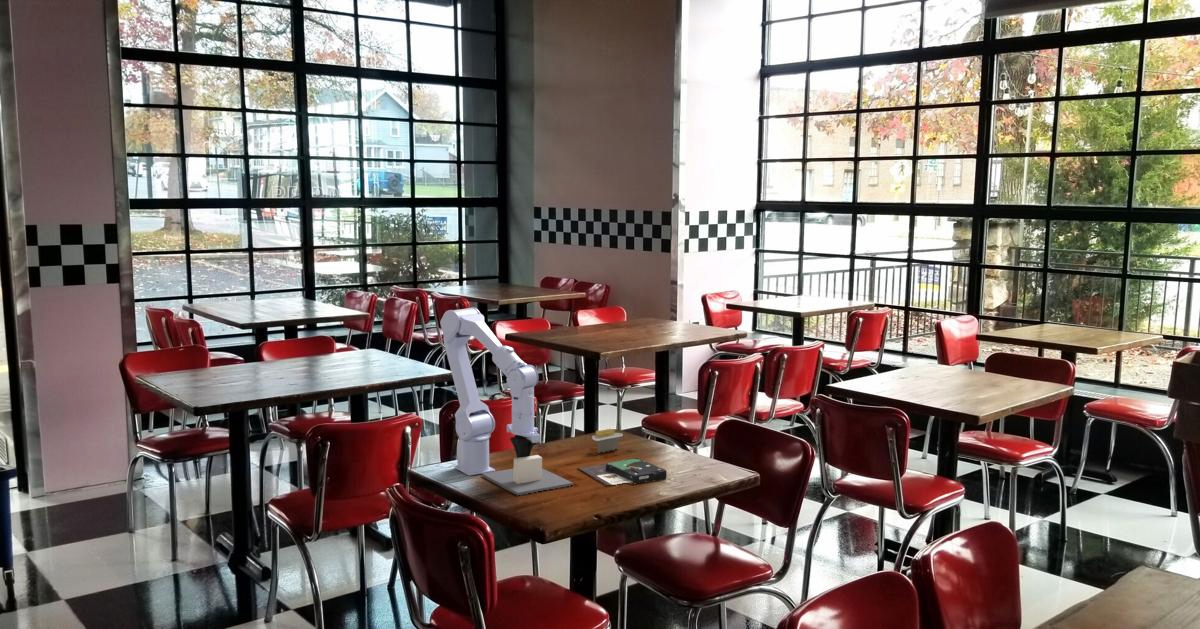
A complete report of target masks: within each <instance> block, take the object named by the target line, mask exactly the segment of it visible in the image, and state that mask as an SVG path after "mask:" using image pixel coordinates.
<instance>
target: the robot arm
mask: <svg viewBox="0 0 1200 629" xmlns="http://www.w3.org/2000/svg"><path fill="white" fill-rule="evenodd" d="M439 323H440V327H441V330H442V335H443V345H444V349H445V352H446V353H445V354H446V356H447V357H446V358H447V361H448V365H449V367H450V372H451V376H452V379H453V383H454V387H455V390H456V395H457V399H458V403H459V408H458V409H457V410H456V412H455V414H454V418H455V431H456V434H457V436H458V437H459V439H458V442H457V445H456V446H457V447H456V454H457V455H456V457H457V459H456V460H457V465H454V469H456V470H458V471H459V472H461V473H463V474H465V475H467V476H475V475H481V474H483V473H489V472H495V471H496V469H495V468H493V467H491V466H490V438H491V437H492V436H491V435H492V433H493V432H494V431H495V428H496V420H495V418H494V416H493V414H492V413H491V412H490V408H489V405H487V404H486V403H485V402H483V401H482V400H481V399H480V396H479V391H478V388H477V384H476V381H475V380H476V379H475V377H474V372H473V368H472V366H471V361H470V358H469V354H468V350H467V346H466V345H467V342H468V341H469V339H471V337H472V336H473V337H474V338H475V339H476V340H477V341H478V342H479V343H480V344H482V345H483V346H484V347H485V349H487V351H489V353H491V354H492V357H491V359H492V362H493V363H494V364H495V365H496V366H497V368H498V369H499V370H500V371H501V372H502V374H504V375H505V377H506V384H507V386H508V388H509V393H510V396H511V423H509V424H506V433H511V434H512V435H514V436H512V437H509V441H510V442H511V444H512V446H513V448H514V451H515V455H516V458H521V457H527V456H531V453H532V450H533V447H534V445H535V444H536V443H541V434H539V433H538V431H539V429H538V427H535V386H536V385H537V384H538V383H539V373H538V370H537V369H536V367H535V366H534V365H532V364H527V363H526V362H524V361H523V360H522V359H521V358H520V357H519V355H517V353H516V352H515V350H514V348H513V347H511V346H508V345H503V344H502V343H501V341H500V340H499V339H498V338H497V336H496V335H495V334H494V332H493V331H492V330H491V329H490V327H489V326H488V325H487V323H486V322H485V316H484V314H482V313H481V312H480V310H479V309H478V308H477V307H468V308H462V309H454V310H453V309H449V310H446V311H445V312H444V313H443V316H442V317H441V319H440V322H439Z"/></svg>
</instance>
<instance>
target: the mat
mask: <svg viewBox="0 0 1200 629" xmlns="http://www.w3.org/2000/svg"><path fill="white" fill-rule="evenodd" d="M513 471H514V468H510V469H509V468H508V469H503V470H502V469H501V470H495V471H494V472H488V473H482V478H484V479H486V480H488V481H489V482H491V483H493V484H495V485H497V486H498V487H500V488H503V489H504V490H506V491H508V492H510V493H512V494H514V495H515V494H516V496H517V497H519V496H518V495H520V496H525V495H529V494H528V493H531V494H534V492H536V493H539V492H538V491H542V492H544V491H543V490H547V491H550V490H549V489H553V490H556V489H555V488H558V489H561V488H560V487H564V488H567V487H566V486H569V487H572V486H571V485H573V486H574V482H572V481H570V480H568V479H566V478H563V477H562V476H560V475H557V474H556V473H553V472H551V471H549V470H547V469H544V468H543V467H542V480H537V481H531V482H525V483H519V484H517V483H516V482H514V481H513ZM524 494H525V495H524Z"/></svg>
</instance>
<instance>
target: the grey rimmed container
mask: <svg viewBox="0 0 1200 629" xmlns="http://www.w3.org/2000/svg"><path fill="white" fill-rule="evenodd" d="M615 431H616V429H615V428H614V429H612V428H606V429H601V430H596V431H595V435H592V436H591V438H592V440H593V441H596V454H597V453H598V452H603V451H608V452H610V451H609V450H613V451H616V450H615V449H618V450H619V441H620V439H619V437H623V433H622V432H621V433H620V432H615ZM603 453H604V452H603ZM598 454H599V453H598Z"/></svg>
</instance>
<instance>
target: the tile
mask: <svg viewBox="0 0 1200 629" xmlns="http://www.w3.org/2000/svg"><path fill="white" fill-rule="evenodd" d="M542 468H543V457H542V456H540V455H539V454H535V455H530V456H527V457H521V458H517V457H515V458H513V469H514V471H513V481H514V482H516V483H517V484H519V483H525V482H531V481H537V480H542Z"/></svg>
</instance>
